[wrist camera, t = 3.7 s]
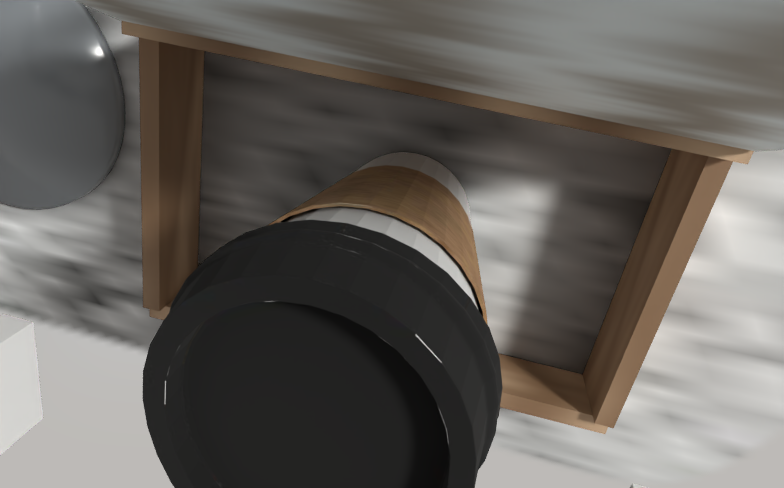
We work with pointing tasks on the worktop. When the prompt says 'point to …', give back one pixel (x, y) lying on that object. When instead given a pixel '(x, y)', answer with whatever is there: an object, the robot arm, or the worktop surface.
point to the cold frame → (499, 94)
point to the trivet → (55, 103)
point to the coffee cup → (333, 345)
